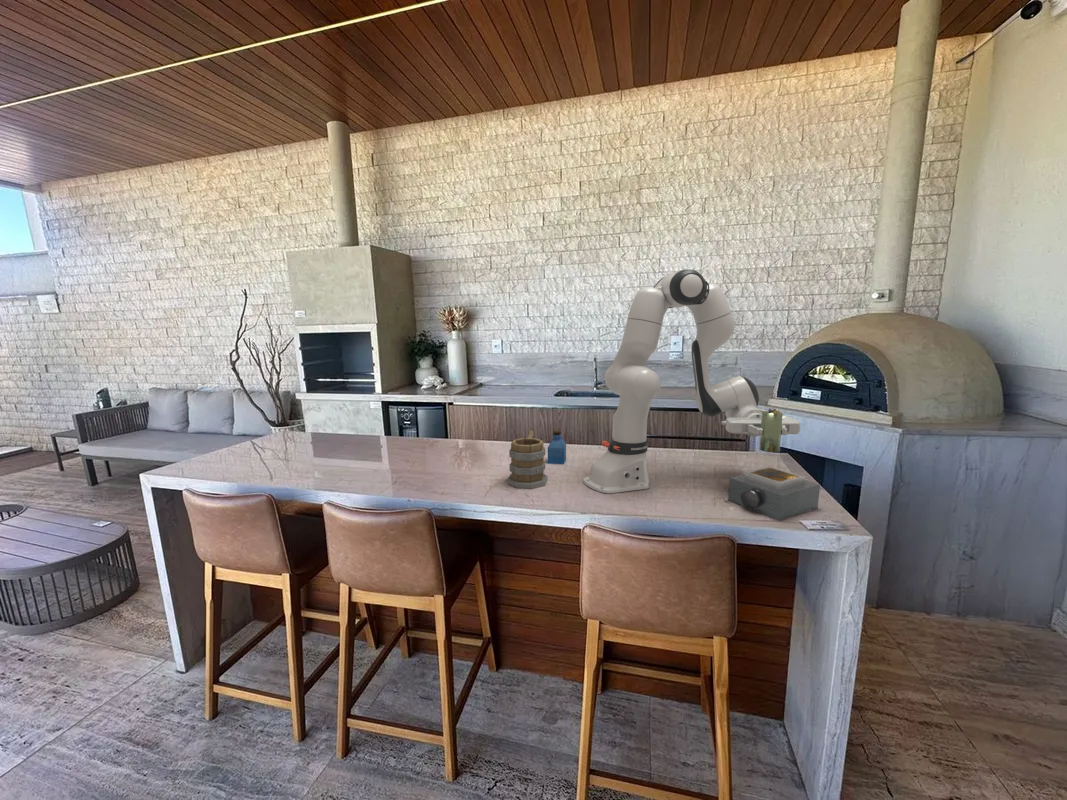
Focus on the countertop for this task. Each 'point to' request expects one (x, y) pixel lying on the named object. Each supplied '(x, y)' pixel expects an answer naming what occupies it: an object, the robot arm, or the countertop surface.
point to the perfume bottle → (557, 449)
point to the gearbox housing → (774, 492)
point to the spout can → (771, 430)
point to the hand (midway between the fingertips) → (772, 432)
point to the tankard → (527, 463)
